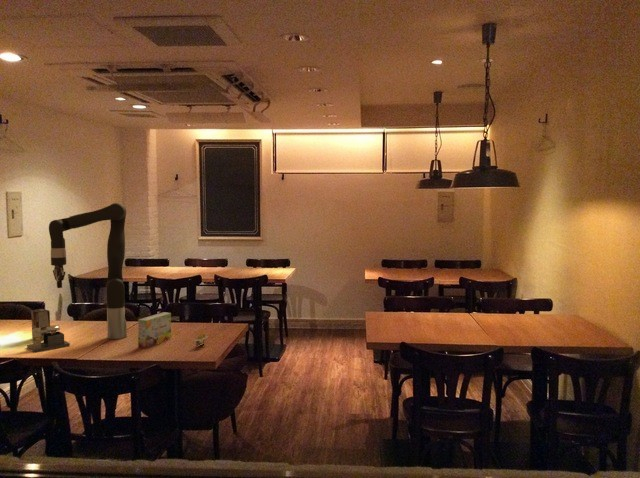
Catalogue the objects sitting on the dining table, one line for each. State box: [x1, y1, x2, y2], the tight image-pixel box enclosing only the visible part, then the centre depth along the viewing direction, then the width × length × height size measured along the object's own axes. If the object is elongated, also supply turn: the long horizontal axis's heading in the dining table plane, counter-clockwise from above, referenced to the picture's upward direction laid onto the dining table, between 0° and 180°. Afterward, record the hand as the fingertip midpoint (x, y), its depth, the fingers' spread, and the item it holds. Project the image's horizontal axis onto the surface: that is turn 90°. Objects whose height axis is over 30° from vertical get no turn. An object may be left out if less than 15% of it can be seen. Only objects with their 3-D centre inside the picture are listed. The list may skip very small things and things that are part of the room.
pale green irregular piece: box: [193, 332, 208, 348], centre depth 272 cm, size 12×18×7 cm, turn 167°
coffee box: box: [30, 308, 51, 342], centre depth 285 cm, size 9×6×16 cm
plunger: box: [35, 325, 60, 335], centre depth 269 cm, size 12×6×4 cm, turn 135°
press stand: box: [26, 328, 71, 353], centre depth 270 cm, size 17×12×10 cm
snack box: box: [137, 311, 172, 349], centre depth 278 cm, size 21×6×15 cm, turn 160°
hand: (59, 287), depth 282 cm, fingers closed
